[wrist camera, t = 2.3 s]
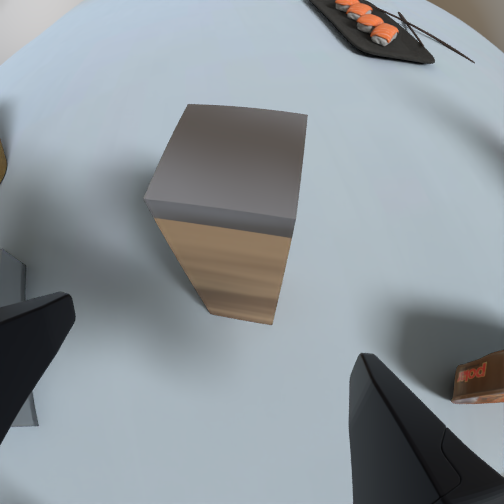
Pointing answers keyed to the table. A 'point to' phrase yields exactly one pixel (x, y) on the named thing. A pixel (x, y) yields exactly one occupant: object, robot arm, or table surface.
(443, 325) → the table surface
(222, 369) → the table surface
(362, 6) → the sushi plate
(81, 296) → the table surface
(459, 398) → the tin
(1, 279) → the box
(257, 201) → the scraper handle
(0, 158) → the plant pot
